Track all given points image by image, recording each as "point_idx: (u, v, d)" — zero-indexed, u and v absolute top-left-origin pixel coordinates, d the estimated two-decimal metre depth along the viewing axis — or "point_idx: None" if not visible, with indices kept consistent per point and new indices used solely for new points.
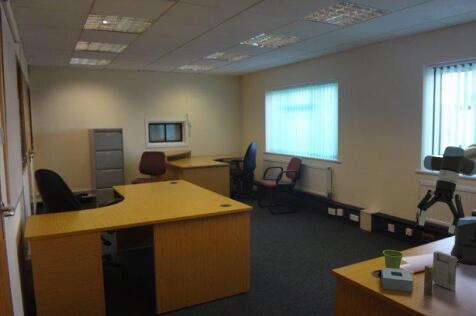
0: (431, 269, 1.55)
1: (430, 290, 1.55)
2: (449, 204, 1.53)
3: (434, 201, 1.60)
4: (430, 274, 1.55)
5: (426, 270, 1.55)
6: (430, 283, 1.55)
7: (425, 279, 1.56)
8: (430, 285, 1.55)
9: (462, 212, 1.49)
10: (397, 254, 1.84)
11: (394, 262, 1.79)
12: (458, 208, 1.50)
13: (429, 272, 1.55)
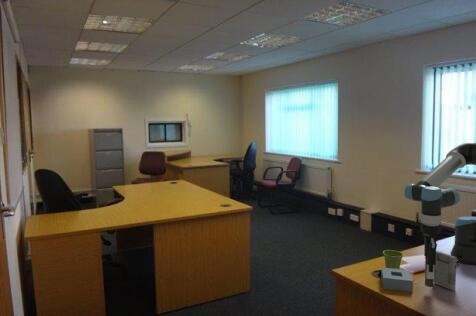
0: None
1: (431, 281, 1.55)
2: (427, 249, 1.54)
3: None
4: None
5: None
6: None
7: (426, 270, 1.56)
8: None
9: (432, 260, 1.51)
10: (397, 254, 1.84)
11: (394, 262, 1.79)
12: (429, 256, 1.51)
13: None
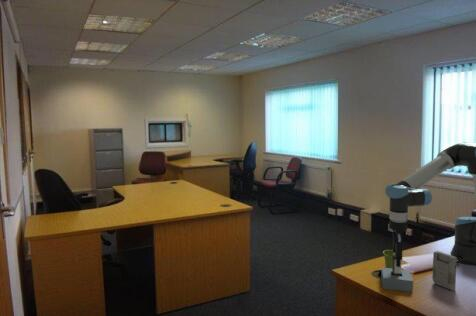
0: None
1: None
2: (395, 244, 1.62)
3: None
4: None
5: (393, 259, 1.65)
6: None
7: (393, 268, 1.66)
8: (398, 274, 1.65)
9: (399, 255, 1.58)
10: None
11: None
12: (396, 251, 1.59)
13: None
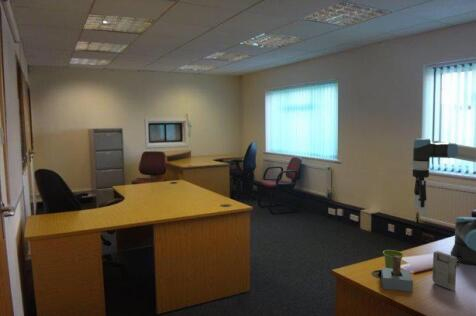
0: (399, 259, 1.64)
1: None
2: (419, 189, 1.82)
3: None
4: (398, 263, 1.64)
5: (394, 260, 1.65)
6: (398, 272, 1.64)
7: (393, 268, 1.65)
8: (398, 274, 1.64)
9: (423, 195, 1.76)
10: (397, 254, 1.84)
11: None
12: (420, 192, 1.78)
13: (397, 261, 1.64)
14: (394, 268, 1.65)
